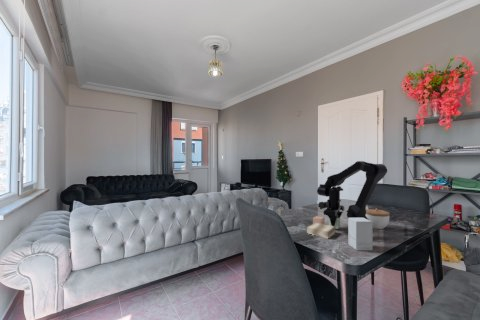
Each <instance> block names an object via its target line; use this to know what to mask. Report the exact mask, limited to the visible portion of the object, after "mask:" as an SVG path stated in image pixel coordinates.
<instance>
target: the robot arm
mask: <svg viewBox="0 0 480 320" xmlns="http://www.w3.org/2000/svg"><path fill="white" fill-rule="evenodd" d="M360 171H362V172H364V173H365V182H364V183H363V185H362V188H361V190H360V193H359V195H358V196H357V197H358V198H357V200H356V202H355V203H354V204H350V205H349V206H348V207H347V208H348V209H347V210H346V216H347V219H348V218H365V219H367V220H369V219H368V218H367V217H366V216H365V215H366V210H367V205H368V204H369V201H370V199H371V197H372V195H373V194H374V190H375V188H376V186H377V185H378V183H379V182H380V181H381V180H383V179H384V177H385V176H386V174H387V173H388V169H387V166H386V165H385V164H383V163H373V162H372V163H371V162H367V161H364V160H359V161H356V162H354V163H353V164H351V165H349V166H348V167H346V168H345V169H343V170H342V171H340V172H338V173H336V174H332V175H330V176H328V177H327V178H326V181H325V182H324V183H323V184H319V186H318V188H317V190H316V193H317V194H318V196H323V197H328V199H327V201H319V202H318V206H317V207H318V208H319V209H320V210H322V209H324V210H323V215H325V216H327V217H328V218H330V222H331V225H332V226H334V225H335V222H336V220H337V218H340V219H341V216H342V215H343V212H344V211H345V206H344V205H341V202H342V199H341V198H340V197H341V191H344V189H343V188H342V186H341V185H342V184H343V183H344V182H345V181H346V179H348V178H350V177H351V176H353V175H355V174H357V173H359V172H360Z"/></svg>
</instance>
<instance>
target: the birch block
mask: <svg viewBox="0 0 480 320" xmlns="http://www.w3.org/2000/svg"><path fill="white" fill-rule="evenodd" d="M307 233H308V234H307ZM306 234H307V235H309V234H312V235H311V236H313V235H316V236H315V237H318V236H319V237H318V238H322V237H323V238H322V239H326V238H327V239H328V238H329V239H330V238H332V237H333V236H334V235H335V234H336V229H335V226H330V225H328V224H325V223H324V224H319V223H314V224H313V223H312V224H310V225H308V226H307V227H306Z"/></svg>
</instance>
